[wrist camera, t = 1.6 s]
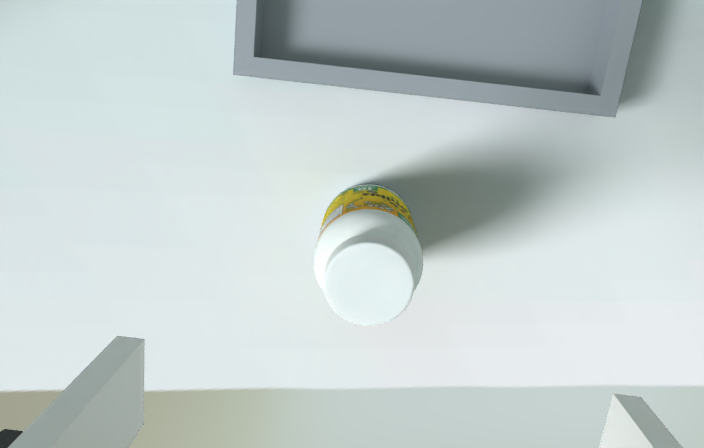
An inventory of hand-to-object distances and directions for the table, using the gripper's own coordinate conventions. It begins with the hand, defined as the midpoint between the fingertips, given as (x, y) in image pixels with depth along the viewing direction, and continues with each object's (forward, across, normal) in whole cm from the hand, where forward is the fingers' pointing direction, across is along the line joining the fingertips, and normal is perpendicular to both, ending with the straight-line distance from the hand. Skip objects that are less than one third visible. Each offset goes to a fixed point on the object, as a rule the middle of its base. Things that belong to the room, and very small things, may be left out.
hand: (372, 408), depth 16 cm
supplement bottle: (+19, 0, 0) cm, 19 cm away
